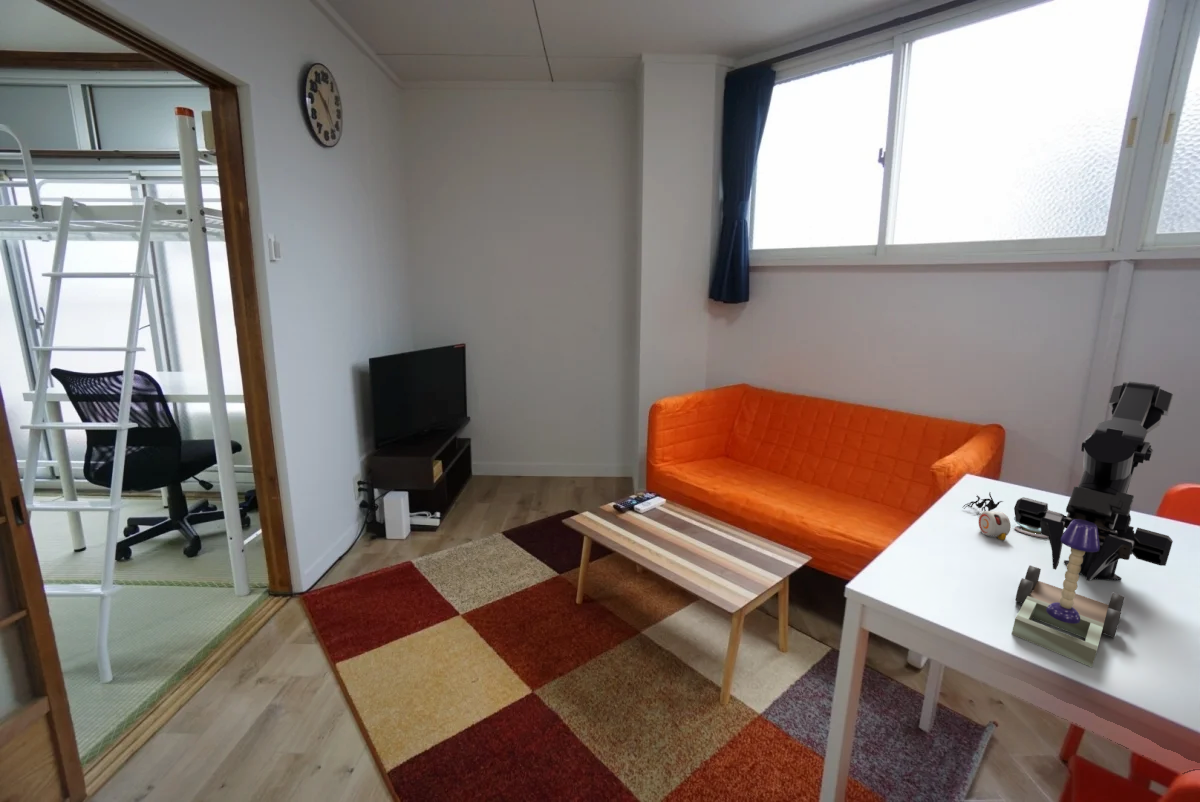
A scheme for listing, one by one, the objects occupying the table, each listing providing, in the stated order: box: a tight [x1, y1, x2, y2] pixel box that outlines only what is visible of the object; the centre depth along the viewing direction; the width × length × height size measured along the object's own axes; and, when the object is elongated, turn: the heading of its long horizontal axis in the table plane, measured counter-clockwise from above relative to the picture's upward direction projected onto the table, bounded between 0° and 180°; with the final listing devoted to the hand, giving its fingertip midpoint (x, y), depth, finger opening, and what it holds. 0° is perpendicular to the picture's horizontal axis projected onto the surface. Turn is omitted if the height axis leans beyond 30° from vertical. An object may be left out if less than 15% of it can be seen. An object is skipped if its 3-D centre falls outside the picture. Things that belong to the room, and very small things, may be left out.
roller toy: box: [978, 510, 1012, 541], centre depth 121 cm, size 4×6×6 cm
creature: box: [962, 491, 1004, 512], centre depth 134 cm, size 8×5×8 cm
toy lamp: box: [1046, 519, 1100, 624], centre depth 84 cm, size 5×5×17 cm
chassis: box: [1011, 565, 1125, 668], centre depth 90 cm, size 22×13×4 cm, turn 132°
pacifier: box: [1013, 516, 1049, 539], centre depth 123 cm, size 7×6×6 cm
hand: (1070, 573), depth 83 cm, fingers closed on toy lamp, 4 cm apart
